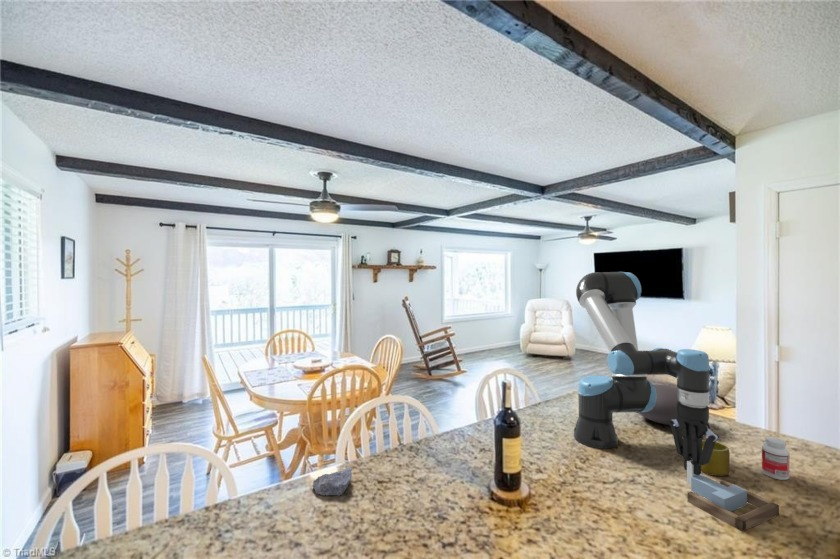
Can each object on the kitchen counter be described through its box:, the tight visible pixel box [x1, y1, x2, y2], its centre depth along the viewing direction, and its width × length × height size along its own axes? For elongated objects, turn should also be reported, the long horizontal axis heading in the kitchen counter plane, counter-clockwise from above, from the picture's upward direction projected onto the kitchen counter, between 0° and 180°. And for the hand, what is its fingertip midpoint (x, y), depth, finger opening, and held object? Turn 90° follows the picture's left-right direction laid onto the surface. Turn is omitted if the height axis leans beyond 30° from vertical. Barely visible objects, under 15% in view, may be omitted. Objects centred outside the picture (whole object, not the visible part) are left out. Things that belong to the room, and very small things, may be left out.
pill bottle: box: [761, 436, 790, 481], centre depth 113 cm, size 6×6×11 cm
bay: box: [687, 479, 780, 532], centre depth 98 cm, size 13×16×2 cm
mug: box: [701, 440, 731, 477], centre depth 118 cm, size 12×10×10 cm
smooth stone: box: [638, 383, 678, 426], centre depth 155 cm, size 25×25×15 cm
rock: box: [312, 466, 353, 497], centre depth 109 cm, size 12×5×10 cm
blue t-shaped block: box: [690, 473, 748, 512], centre depth 102 cm, size 10×10×4 cm
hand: (692, 483), depth 107 cm, fingers closed
